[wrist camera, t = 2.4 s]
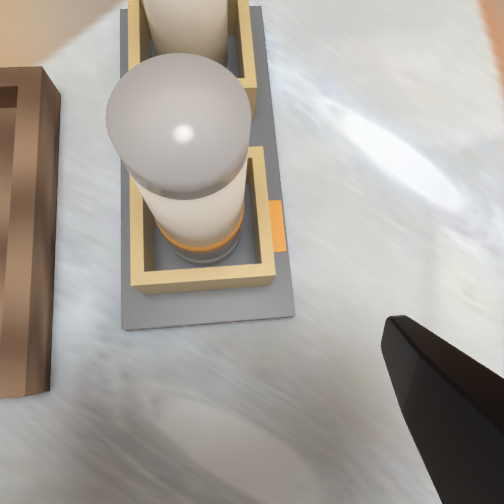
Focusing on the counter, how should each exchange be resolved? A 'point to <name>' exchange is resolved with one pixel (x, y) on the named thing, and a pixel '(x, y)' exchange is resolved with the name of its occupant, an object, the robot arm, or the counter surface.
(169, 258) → the block
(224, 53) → the cylinder
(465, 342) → the counter surface
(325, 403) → the counter surface
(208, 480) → the counter surface
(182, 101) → the ball
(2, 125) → the tray
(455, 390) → the robot arm
